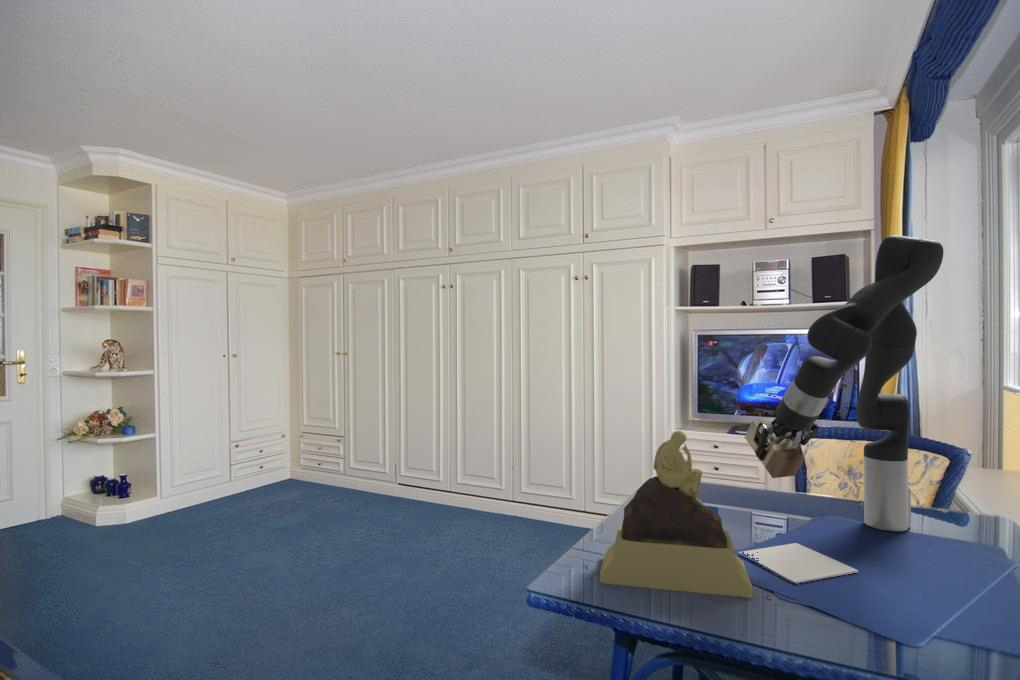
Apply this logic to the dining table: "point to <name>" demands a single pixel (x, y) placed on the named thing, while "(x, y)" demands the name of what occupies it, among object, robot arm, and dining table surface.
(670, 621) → the dining table surface
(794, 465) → the two-tone block
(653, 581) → the seated figure statue
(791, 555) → the off-white mat
